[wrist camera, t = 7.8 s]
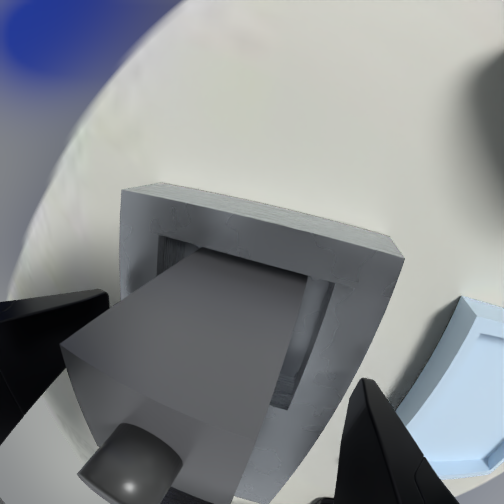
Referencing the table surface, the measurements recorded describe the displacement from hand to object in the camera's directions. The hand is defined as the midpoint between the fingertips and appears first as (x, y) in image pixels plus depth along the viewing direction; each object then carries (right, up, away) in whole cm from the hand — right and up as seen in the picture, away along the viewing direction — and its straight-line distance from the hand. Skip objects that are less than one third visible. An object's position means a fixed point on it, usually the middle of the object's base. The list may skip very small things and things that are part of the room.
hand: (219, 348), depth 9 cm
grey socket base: (0, -4, +5) cm, 6 cm away
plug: (+1, +1, +2) cm, 3 cm away
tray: (+14, -5, +1) cm, 15 cm away
